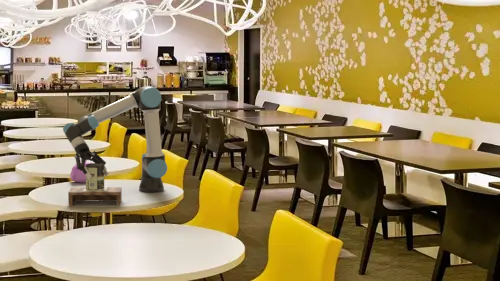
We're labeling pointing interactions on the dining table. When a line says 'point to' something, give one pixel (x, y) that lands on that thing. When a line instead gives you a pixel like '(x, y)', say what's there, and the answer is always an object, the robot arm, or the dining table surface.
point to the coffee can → (95, 177)
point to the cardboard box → (95, 194)
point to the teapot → (78, 174)
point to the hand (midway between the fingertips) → (98, 176)
